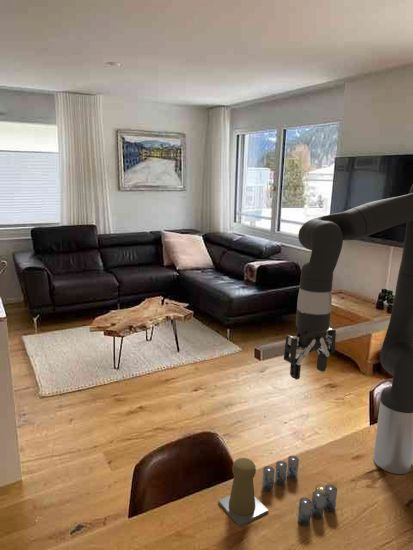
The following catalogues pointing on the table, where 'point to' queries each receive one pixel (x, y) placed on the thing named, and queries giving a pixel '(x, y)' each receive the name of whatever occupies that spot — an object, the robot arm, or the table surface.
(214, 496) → the table surface
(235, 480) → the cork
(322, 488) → the glossy gold bead
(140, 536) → the table surface
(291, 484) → the table surface
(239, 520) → the coaster
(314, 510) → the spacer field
